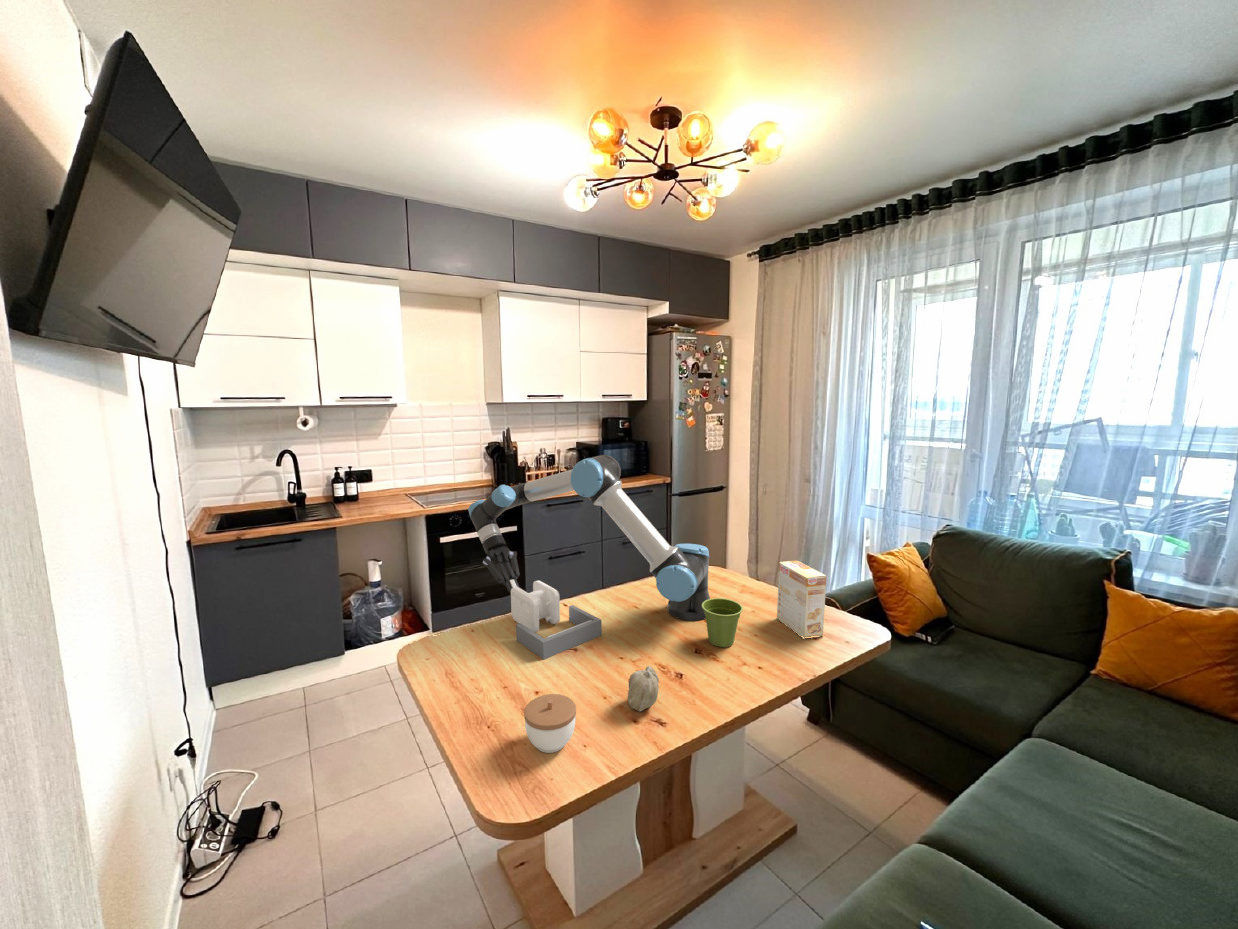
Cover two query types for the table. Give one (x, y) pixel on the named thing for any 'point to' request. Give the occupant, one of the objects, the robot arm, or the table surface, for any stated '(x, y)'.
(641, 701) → the grey lumpy rounded piece
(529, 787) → the table surface
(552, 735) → the lidded jar
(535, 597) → the cable organizer
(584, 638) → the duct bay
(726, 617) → the plant pot
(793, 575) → the coffeecake box
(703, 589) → the robot arm
